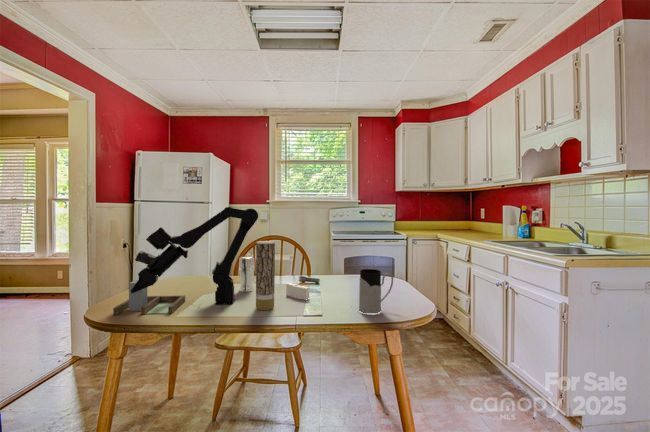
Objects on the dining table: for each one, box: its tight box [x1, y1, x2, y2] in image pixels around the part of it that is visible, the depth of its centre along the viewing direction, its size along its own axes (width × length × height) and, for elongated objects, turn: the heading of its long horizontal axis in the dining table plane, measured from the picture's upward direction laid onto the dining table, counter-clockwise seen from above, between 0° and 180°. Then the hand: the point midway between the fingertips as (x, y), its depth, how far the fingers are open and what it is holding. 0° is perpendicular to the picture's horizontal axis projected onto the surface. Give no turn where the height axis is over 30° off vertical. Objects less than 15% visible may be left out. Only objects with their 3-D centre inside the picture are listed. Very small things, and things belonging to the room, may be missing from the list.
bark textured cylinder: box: [255, 240, 276, 312], centre depth 122 cm, size 7×7×25 cm
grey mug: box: [358, 268, 394, 313], centre depth 121 cm, size 9×14×15 cm, turn 113°
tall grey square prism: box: [128, 279, 148, 312], centre depth 120 cm, size 4×4×10 cm
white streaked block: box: [238, 255, 256, 293], centre depth 149 cm, size 7×7×15 cm
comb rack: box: [113, 294, 186, 316], centre depth 121 cm, size 19×15×2 cm
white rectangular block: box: [285, 282, 310, 301], centre depth 140 cm, size 15×11×6 cm
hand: (134, 289), depth 120 cm, fingers open, 7 cm apart
